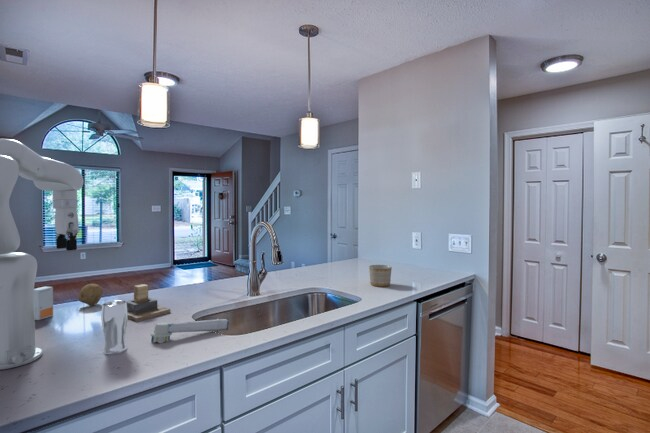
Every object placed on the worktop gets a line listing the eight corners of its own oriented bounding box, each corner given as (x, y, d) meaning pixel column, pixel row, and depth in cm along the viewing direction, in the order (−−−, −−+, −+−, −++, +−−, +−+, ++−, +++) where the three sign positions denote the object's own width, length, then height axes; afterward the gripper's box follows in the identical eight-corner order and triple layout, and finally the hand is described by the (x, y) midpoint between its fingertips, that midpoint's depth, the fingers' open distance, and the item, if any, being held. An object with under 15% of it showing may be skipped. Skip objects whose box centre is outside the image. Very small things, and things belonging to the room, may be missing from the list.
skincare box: (39, 320, 134) (38, 290, 134) (30, 319, 135) (29, 289, 135) (54, 315, 140) (53, 286, 140) (45, 315, 141) (44, 286, 141)
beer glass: (123, 344, 112) (122, 298, 111) (132, 349, 107) (131, 302, 107) (98, 351, 107) (97, 303, 106) (107, 357, 102) (105, 307, 102)
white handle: (229, 320, 124) (153, 323, 111) (227, 339, 123) (150, 343, 111) (226, 316, 128) (152, 318, 116) (223, 334, 128) (149, 338, 115)
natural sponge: (78, 310, 147) (77, 287, 147) (78, 305, 155) (77, 283, 154) (103, 306, 153) (103, 284, 152) (102, 301, 160) (101, 280, 160)
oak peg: (148, 308, 145) (148, 285, 144) (138, 311, 141) (138, 287, 141) (143, 307, 147) (143, 283, 147) (134, 309, 144) (133, 285, 143)
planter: (366, 286, 191) (367, 267, 190) (371, 281, 203) (371, 264, 202) (389, 288, 187) (390, 269, 186) (392, 283, 198) (393, 265, 198)
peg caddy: (170, 312, 144) (170, 300, 144) (136, 321, 133) (136, 309, 133) (145, 304, 156) (145, 293, 156) (112, 312, 144) (112, 300, 144)
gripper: (86, 204, 130) (87, 249, 130) (68, 204, 139) (69, 246, 140) (62, 204, 123) (63, 252, 124) (45, 204, 133) (46, 248, 134)
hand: (66, 249), depth 132 cm, fingers open, 9 cm apart
